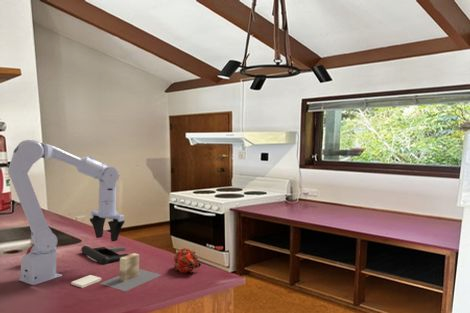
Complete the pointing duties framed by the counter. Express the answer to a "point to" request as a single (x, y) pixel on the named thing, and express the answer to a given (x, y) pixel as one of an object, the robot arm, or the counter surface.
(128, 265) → the light wooden block
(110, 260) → the door handle
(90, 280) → the tile
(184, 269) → the dragon fruit
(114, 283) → the mat
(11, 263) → the counter surface
